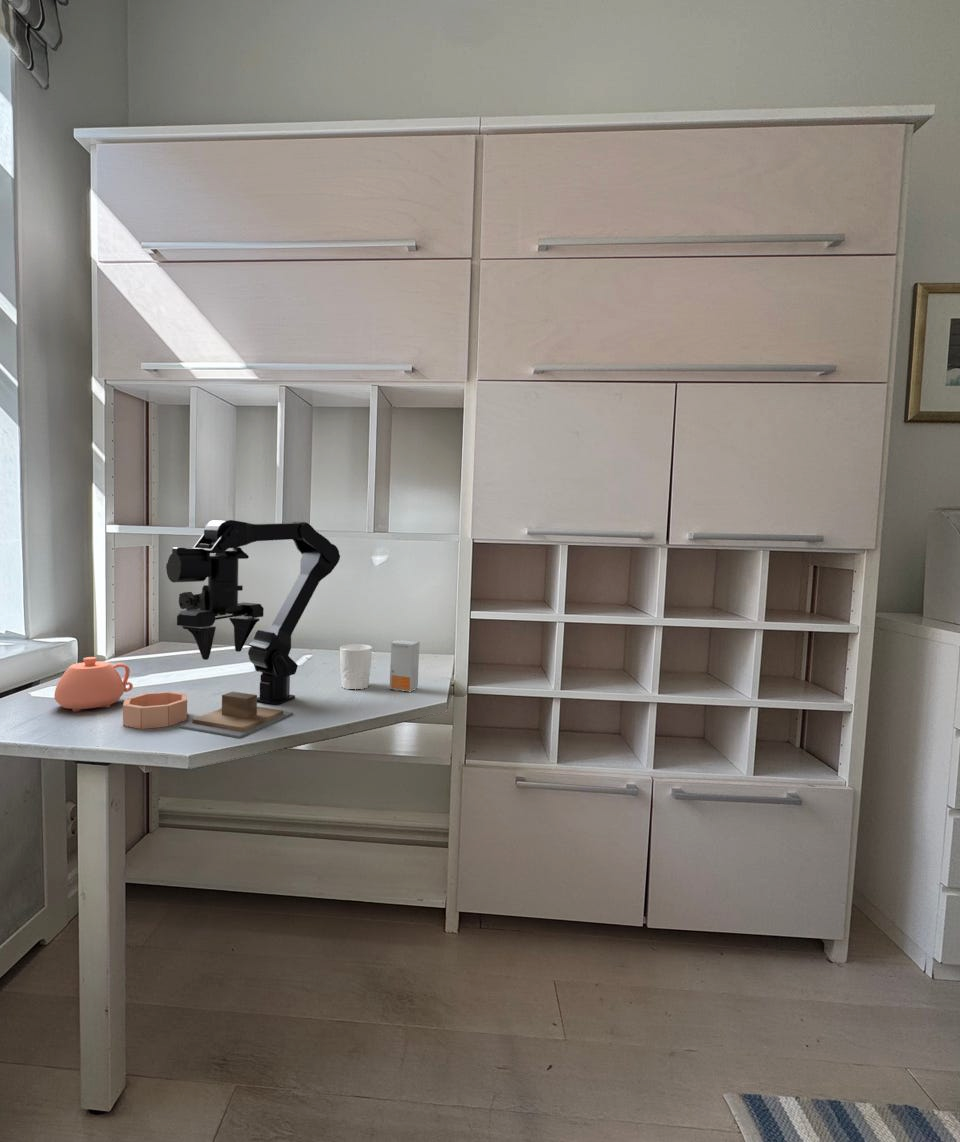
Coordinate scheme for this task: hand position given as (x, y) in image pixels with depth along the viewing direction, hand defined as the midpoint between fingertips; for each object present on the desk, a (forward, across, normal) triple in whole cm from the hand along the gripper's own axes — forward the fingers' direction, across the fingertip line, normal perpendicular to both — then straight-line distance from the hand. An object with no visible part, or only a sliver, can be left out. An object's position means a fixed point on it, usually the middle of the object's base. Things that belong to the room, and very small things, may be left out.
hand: (222, 655), depth 122 cm
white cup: (+12, -30, +14) cm, 35 cm away
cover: (+12, +3, +7) cm, 14 cm away
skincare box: (+12, -33, +26) cm, 44 cm away
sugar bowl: (+12, +7, -27) cm, 30 cm away
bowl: (+12, +9, -8) cm, 17 cm away
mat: (+12, +3, +7) cm, 14 cm away
